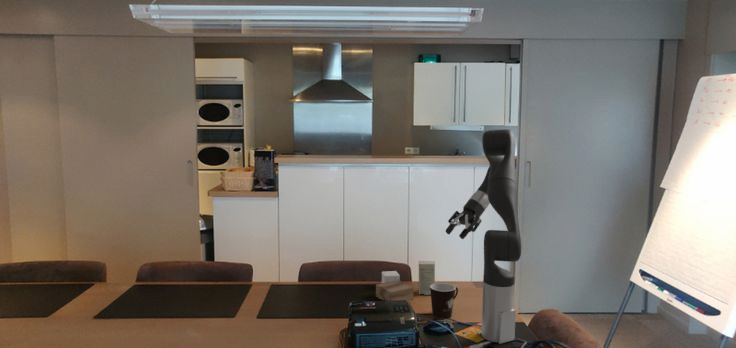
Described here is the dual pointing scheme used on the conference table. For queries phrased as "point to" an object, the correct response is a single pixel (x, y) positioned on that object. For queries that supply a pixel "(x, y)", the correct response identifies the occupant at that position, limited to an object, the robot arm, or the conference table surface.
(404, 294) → the walnut block
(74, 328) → the conference table surface
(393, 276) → the white cube
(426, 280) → the skincare box
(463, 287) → the conference table surface
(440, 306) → the coffee mug
